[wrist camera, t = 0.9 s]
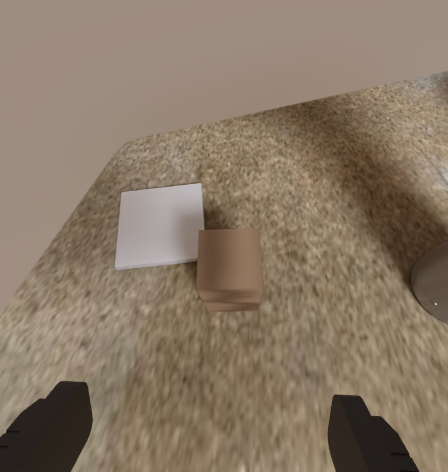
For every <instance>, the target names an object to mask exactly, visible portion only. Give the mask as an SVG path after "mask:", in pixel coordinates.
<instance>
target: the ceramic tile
mask: <svg viewBox="0 0 448 472" xmlns="http://www.w3.org/2000/svg"><path fill="white" fill-rule="evenodd" d="M199 230H205V223H204V209H203V194H202V185H201V183H197V184H189V185H180V186H171V187H162V188H153V189H144V190H136V191H127V192H122V193H121V203H120V214H119V225H118V236H117V247H116V258H115V268H116V269H117V270H122V269H131V268H140V267H150V266H159V265H168V264H177V263H186V262H195V261H197V258H198V234H199Z"/></svg>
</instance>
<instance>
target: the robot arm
mask: <svg viewBox="0 0 448 472" xmlns="http://www.w3.org/2000/svg"><path fill="white" fill-rule="evenodd" d="M411 285H412V289H413V292H414V294H415V296H416V298H417V300H418V301H419V302H420V304H421V305H422V306H423V307H424V308H425V309H426V310H427V311H428V312H429V313H430V314H431V315H433V316H434V317H436V318H437V319H439V320H440V321H443V322H445V323H447V324H448V240H447V241H445V242H444V243H442V244H441V245H439V246H438V247H436V248H435V249H433V250H432V251H430V252H429V253H427V254H426V255H424V256H423V257H421V258H419V259H418V261H417V262H416V263H415V264H414V266H413V268H412V271H411ZM92 422H93V416H92V410H91V404H90V397H89V391H88V386H87V383H86V382H73V381H61V382H59V383H58V384H57V385H56V386H55V387H54V389H53V390H52V391H51V392H50V394H49V395H48V396H47V397H46V399H38V400H37V401H36V402H35V403H33V404H32V405H31V406H29V407H28V408H27V409H25V410H24V411H23V412H21V414H20V415H19V416H18V417H17V418H16V419H15V421H14V422H13V423H12V424H11V425H10V427H9V428H8V429H7V430H6V433H5V434H3V435H2V436H1V437H0V472H71V470H72V468H73V466H74V464H75V463H76V461H77V459H78V457H79V455H80V453H81V451H82V449H83V447H84V446H85V444H86V442H87V440H88V437H89V435H90V432H91V428H92ZM328 444H329V450H330V454H331V457H332V461H333V464H334V467H335V470H336V472H419V470H418V468H417V466H416V465H415V463H414V461H413V459H412V458H410V456H409V452H408V451H407V449H406V447H405V445H404V444H403V442H402V440H401V438H400V437H399V435H398V433H397V432H396V431H395V430H394V429H393V428H392V427H391V426H390V425H389V424H388V423H387V422H386V421H385V420H384V419H383V418H382V417H381V416H371V415H370V413H369V411H368V409H367V407H366V405H365V403H364V401H363V399H362V398H361V397H360V396H355V395H334V396H333V399H332V406H331V412H330V419H329V426H328Z"/></svg>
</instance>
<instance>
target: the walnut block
mask: <svg viewBox="0 0 448 472" xmlns="http://www.w3.org/2000/svg"><path fill="white" fill-rule="evenodd" d="M196 290H197V291H198V293H199V295H200V297H201V299H202V301H203V302H204V304H205V306H206V308H207V310H208V311H209V312H221V311H258V309H259V305H260V300H261V296H262V292H263V275H262V260H261V246H260V232H259V228H246V229H216V230H199V234H198V258H197V283H196Z"/></svg>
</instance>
